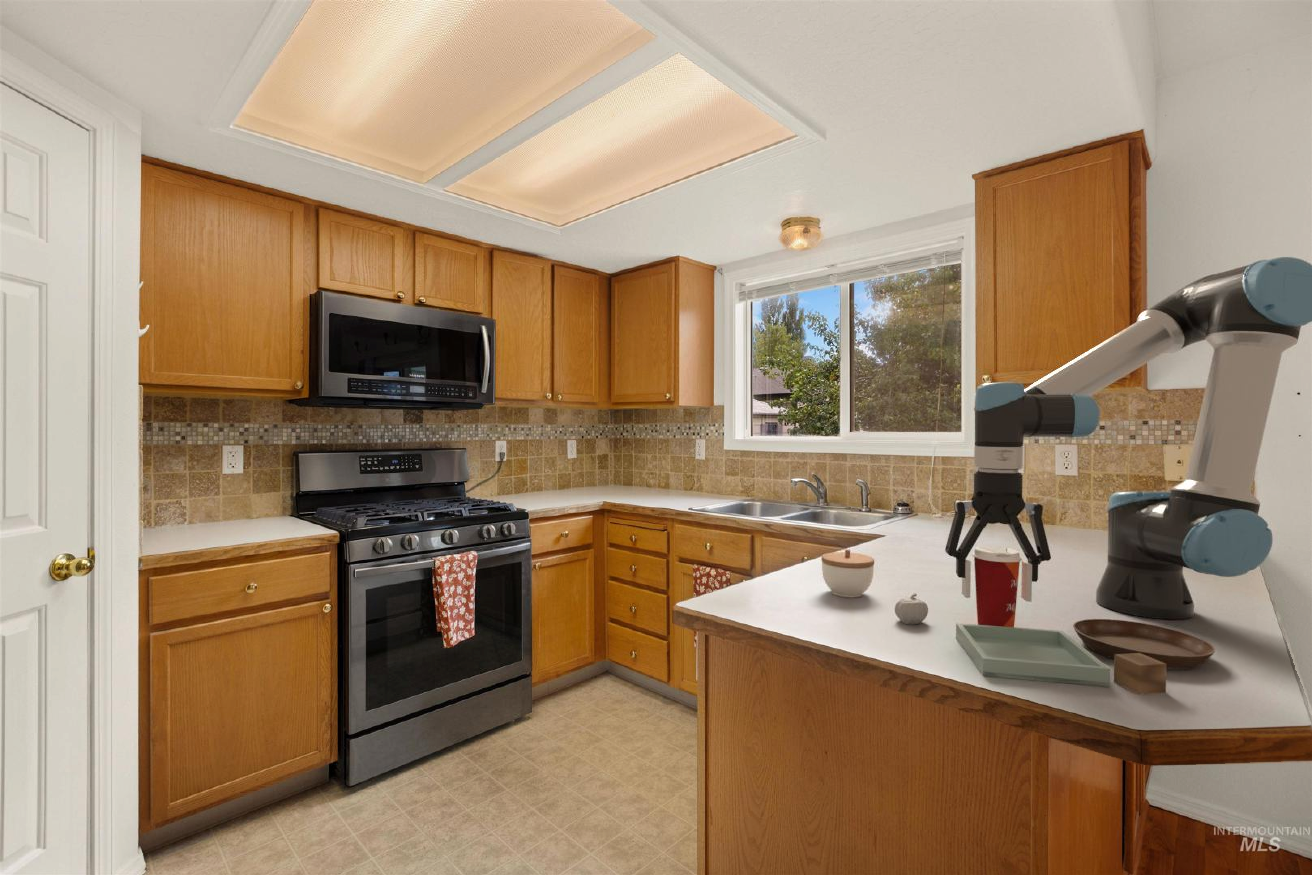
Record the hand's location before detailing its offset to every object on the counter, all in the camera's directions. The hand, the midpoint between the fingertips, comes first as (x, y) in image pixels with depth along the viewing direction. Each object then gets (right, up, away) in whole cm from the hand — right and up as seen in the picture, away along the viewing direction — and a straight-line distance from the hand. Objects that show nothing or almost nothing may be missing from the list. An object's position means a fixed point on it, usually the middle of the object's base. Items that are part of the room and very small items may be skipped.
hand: (995, 597), depth 109 cm
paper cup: (0, -6, 0) cm, 6 cm away
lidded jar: (-19, -5, +22) cm, 30 cm away
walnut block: (+7, -6, -24) cm, 26 cm away
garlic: (-14, -6, +3) cm, 15 cm away
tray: (-3, -6, -14) cm, 16 cm away
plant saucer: (+17, -6, -11) cm, 21 cm away
